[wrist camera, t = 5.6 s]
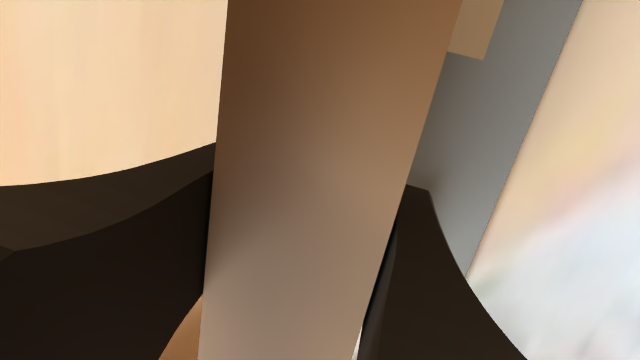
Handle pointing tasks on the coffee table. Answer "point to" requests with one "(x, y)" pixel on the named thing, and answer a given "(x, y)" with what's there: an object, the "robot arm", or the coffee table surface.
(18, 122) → the coffee table surface
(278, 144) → the case
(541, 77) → the stand
